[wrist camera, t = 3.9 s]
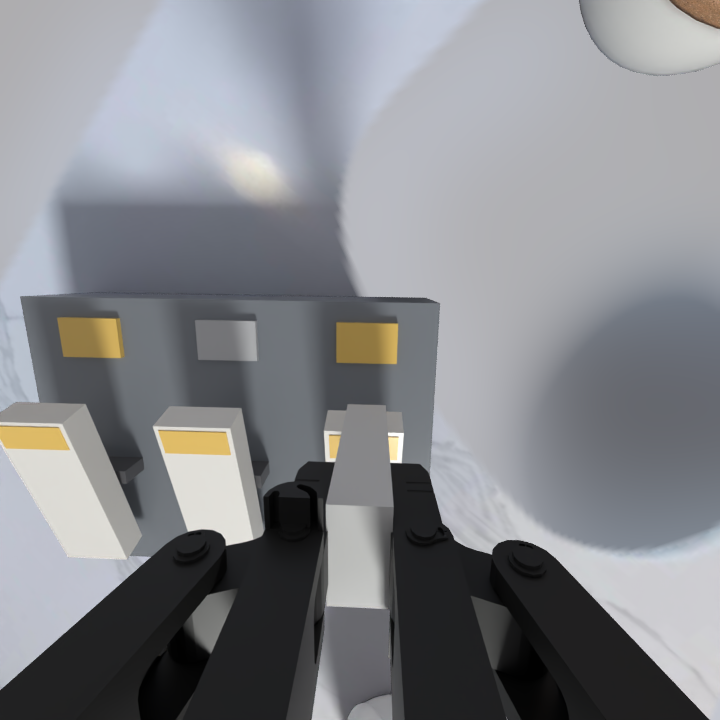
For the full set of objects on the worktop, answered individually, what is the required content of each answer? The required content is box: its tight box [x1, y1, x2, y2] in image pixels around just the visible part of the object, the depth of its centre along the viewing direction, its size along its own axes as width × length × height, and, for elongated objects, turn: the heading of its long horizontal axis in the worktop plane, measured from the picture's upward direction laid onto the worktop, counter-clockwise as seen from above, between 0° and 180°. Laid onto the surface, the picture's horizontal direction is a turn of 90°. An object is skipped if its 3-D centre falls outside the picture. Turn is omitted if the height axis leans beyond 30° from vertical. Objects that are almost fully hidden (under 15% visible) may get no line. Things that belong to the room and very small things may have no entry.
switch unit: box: [20, 293, 440, 557], centre depth 22 cm, size 21×15×6 cm
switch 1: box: [0, 402, 142, 560], centre depth 18 cm, size 3×9×1 cm, turn 179°
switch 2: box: [153, 406, 264, 546], centre depth 18 cm, size 3×9×1 cm, turn 179°
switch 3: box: [324, 410, 404, 463], centre depth 17 cm, size 3×9×2 cm, turn 179°
